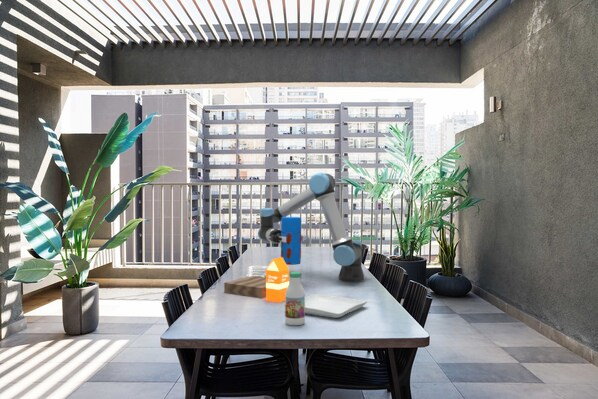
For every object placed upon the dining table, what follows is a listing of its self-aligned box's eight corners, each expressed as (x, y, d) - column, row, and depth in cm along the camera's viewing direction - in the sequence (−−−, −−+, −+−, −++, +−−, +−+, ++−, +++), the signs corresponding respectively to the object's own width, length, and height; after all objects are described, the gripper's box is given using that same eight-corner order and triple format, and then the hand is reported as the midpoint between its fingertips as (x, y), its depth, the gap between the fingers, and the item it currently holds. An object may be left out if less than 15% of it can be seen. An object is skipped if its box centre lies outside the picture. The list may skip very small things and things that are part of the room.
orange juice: (289, 298, 228) (289, 257, 228) (279, 302, 221) (279, 259, 220) (275, 296, 232) (275, 256, 232) (265, 300, 224) (265, 258, 224)
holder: (261, 283, 268) (261, 279, 268) (230, 282, 271) (230, 278, 270) (277, 270, 312) (277, 266, 312) (250, 269, 315) (250, 265, 315)
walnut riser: (289, 289, 249) (289, 280, 249) (261, 298, 229) (261, 288, 229) (253, 284, 262) (253, 275, 262) (224, 292, 242) (224, 282, 242)
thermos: (298, 265, 251) (298, 218, 250) (278, 264, 253) (279, 217, 252) (302, 262, 261) (302, 217, 261) (283, 261, 263) (283, 216, 263)
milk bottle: (284, 320, 190) (284, 271, 189) (303, 320, 190) (303, 270, 190) (285, 326, 182) (285, 274, 182) (305, 325, 183) (305, 274, 182)
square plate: (340, 322, 189) (340, 313, 188) (283, 313, 203) (283, 304, 203) (367, 308, 212) (367, 299, 211) (314, 300, 226) (314, 292, 226)
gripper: (292, 241, 278) (312, 244, 260) (256, 243, 266) (275, 247, 247) (292, 228, 278) (312, 231, 259) (256, 230, 266) (275, 233, 247)
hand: (294, 239), depth 253 cm, fingers closed on thermos, 11 cm apart
